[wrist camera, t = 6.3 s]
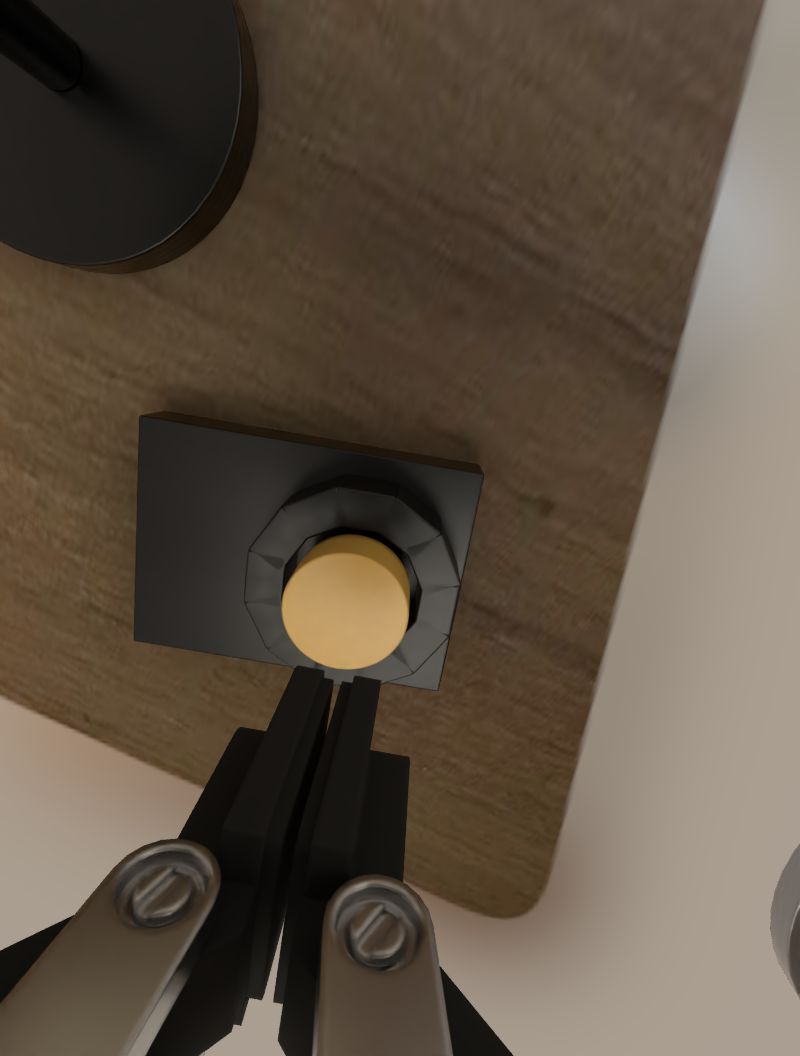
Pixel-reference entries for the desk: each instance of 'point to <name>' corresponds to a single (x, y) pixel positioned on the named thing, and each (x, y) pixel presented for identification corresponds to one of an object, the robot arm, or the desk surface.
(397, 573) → the button
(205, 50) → the desk lamp
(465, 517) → the button base
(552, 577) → the desk surface
